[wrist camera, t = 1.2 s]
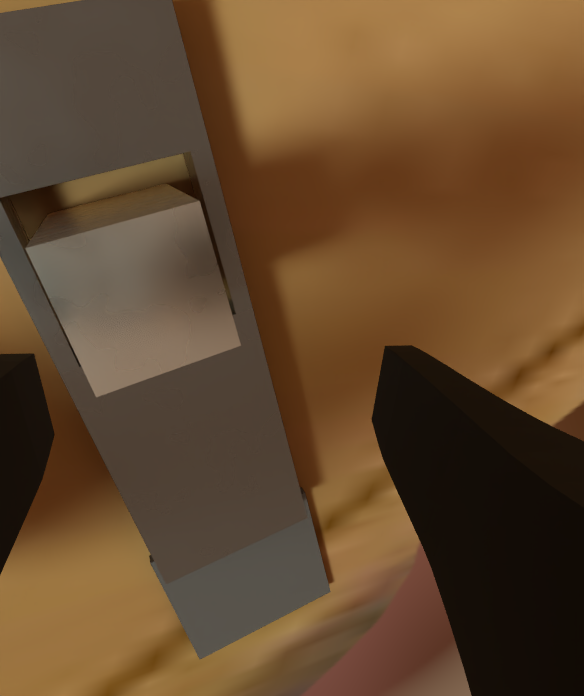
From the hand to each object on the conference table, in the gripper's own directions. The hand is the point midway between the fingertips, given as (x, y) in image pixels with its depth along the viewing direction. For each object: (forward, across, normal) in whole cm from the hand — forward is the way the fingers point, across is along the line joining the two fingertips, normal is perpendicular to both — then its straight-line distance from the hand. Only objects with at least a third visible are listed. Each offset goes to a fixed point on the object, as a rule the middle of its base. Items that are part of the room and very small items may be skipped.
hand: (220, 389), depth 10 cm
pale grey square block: (+11, +4, +1) cm, 12 cm away
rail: (+10, +3, +5) cm, 12 cm away
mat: (+9, -1, +20) cm, 22 cm away
